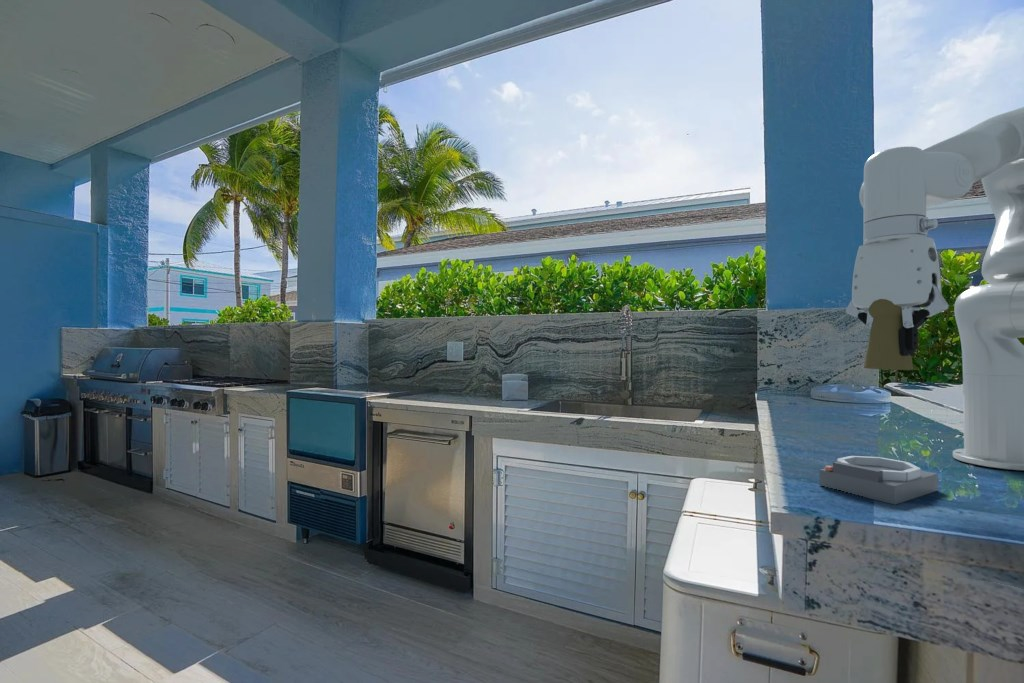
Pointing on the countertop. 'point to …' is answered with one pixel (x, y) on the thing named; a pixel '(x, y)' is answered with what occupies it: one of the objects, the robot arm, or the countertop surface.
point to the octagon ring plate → (879, 478)
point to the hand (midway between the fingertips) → (893, 354)
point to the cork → (886, 338)
